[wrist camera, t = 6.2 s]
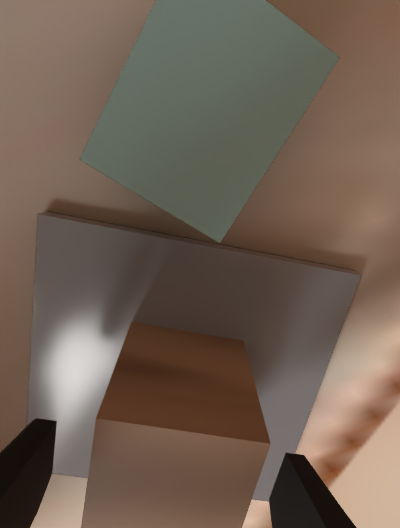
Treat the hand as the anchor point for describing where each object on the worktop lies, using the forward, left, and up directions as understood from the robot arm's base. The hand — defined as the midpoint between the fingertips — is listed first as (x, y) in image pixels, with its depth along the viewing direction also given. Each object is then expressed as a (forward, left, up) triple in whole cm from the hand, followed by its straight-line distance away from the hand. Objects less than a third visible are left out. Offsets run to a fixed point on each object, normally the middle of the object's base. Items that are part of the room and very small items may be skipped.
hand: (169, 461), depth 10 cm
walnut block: (0, 0, -4) cm, 4 cm away
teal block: (+10, +1, -5) cm, 11 cm away
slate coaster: (0, 0, -4) cm, 4 cm away
